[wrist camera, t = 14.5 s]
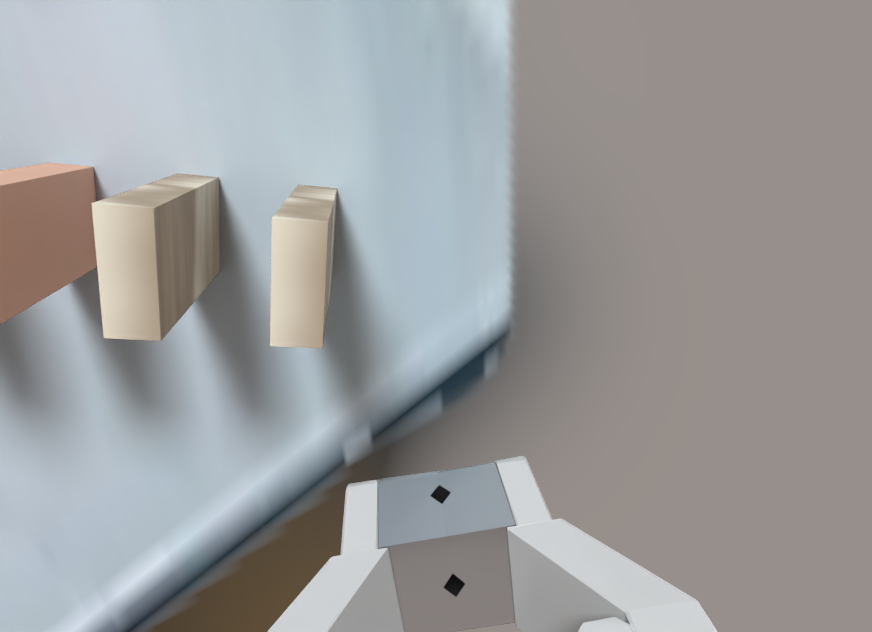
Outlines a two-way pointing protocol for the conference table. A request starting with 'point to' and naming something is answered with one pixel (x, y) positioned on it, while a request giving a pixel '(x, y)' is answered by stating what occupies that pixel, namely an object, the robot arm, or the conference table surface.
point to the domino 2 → (155, 253)
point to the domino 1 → (44, 232)
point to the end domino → (302, 267)
